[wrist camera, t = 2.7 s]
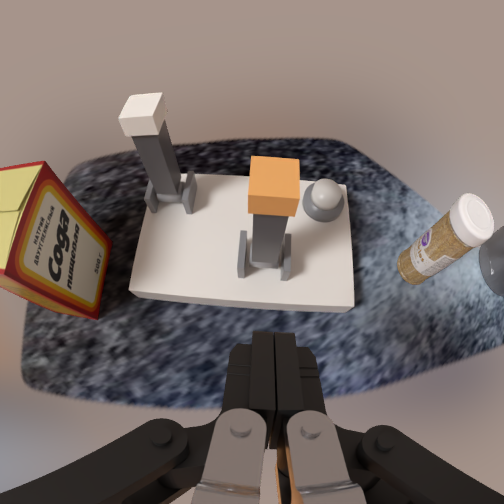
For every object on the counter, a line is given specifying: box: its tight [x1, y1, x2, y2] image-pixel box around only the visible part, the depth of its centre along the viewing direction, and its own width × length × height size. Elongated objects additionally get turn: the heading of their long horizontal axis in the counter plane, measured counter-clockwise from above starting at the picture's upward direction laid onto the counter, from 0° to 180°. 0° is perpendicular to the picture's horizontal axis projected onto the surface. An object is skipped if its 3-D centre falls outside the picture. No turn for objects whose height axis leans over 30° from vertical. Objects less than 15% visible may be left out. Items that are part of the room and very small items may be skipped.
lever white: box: [118, 93, 185, 202], centre depth 25 cm, size 3×3×13 cm
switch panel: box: [129, 171, 354, 313], centre depth 30 cm, size 22×14×6 cm, turn 86°
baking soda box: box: [0, 161, 113, 320], centre depth 24 cm, size 10×6×16 cm
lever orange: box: [248, 156, 300, 269], centre depth 22 cm, size 3×3×13 cm
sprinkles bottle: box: [397, 193, 494, 285], centre depth 26 cm, size 5×5×13 cm
